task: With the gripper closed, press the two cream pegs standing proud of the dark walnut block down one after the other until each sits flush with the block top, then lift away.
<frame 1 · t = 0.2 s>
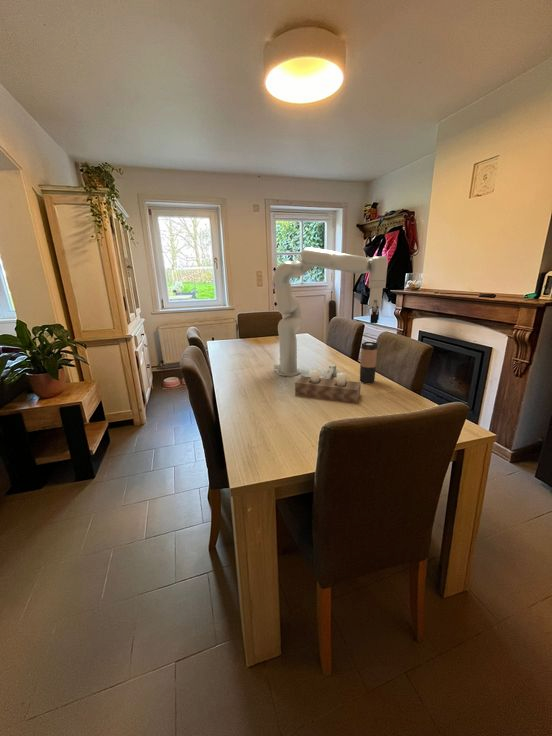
hand: (374, 321, 147), 31 cm above the table, tool pointing down, fingers open, 9 cm apart
walnut block: (327, 394, 141), on the table
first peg: (315, 376, 141), point 8 cm above the table, slide at 0.0 cm
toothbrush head: (328, 381, 160), on the table
travel mug: (366, 381, 157), on the table
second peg: (341, 379, 137), point 8 cm above the table, slide at 0.0 cm
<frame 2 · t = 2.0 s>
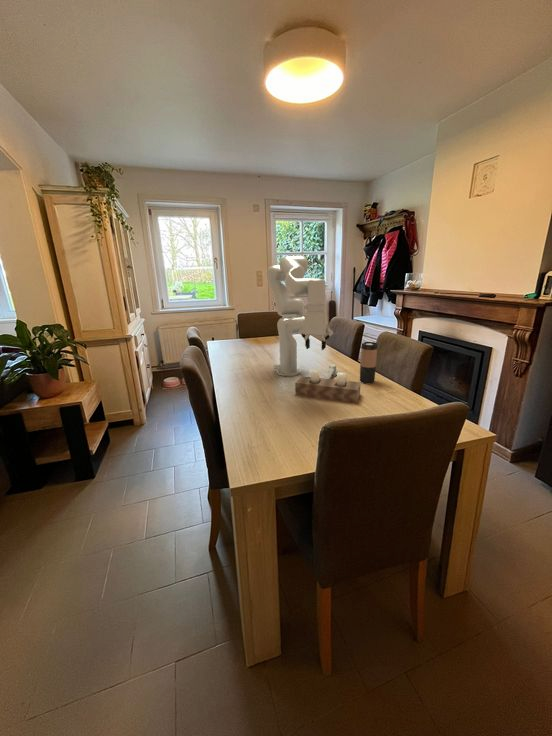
hand: (315, 348, 137), 22 cm above the table, tool pointing down, fingers open, 6 cm apart
nothing on the table moved.
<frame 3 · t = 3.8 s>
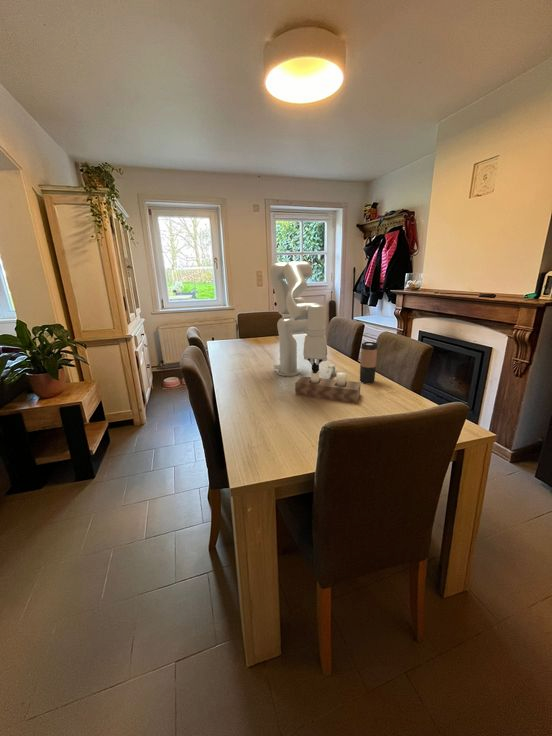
hand: (315, 372, 140), 10 cm above the table, tool pointing down, fingers closed
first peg: (315, 377, 141), point 8 cm above the table, slide at 0.6 cm, touching gripper
everything else where it was.
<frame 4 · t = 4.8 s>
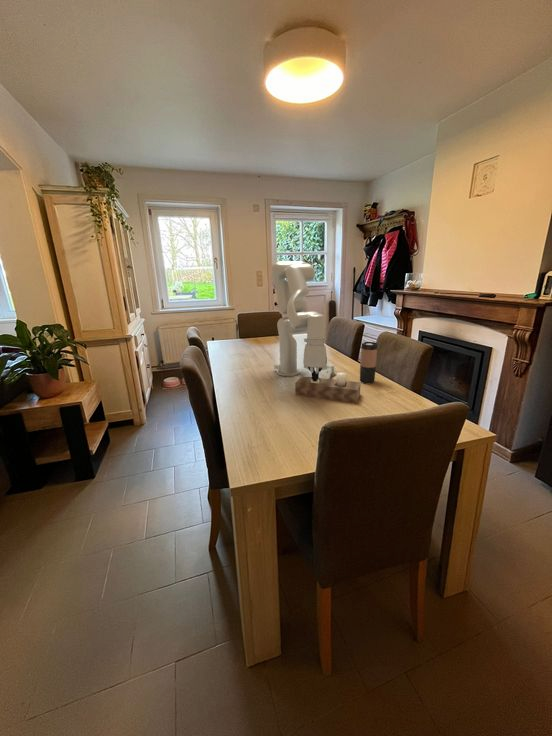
hand: (315, 380, 142), 6 cm above the table, tool pointing down, fingers closed
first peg: (314, 386, 143), point 4 cm above the table, slide at 4.7 cm, touching gripper
everything else where it was.
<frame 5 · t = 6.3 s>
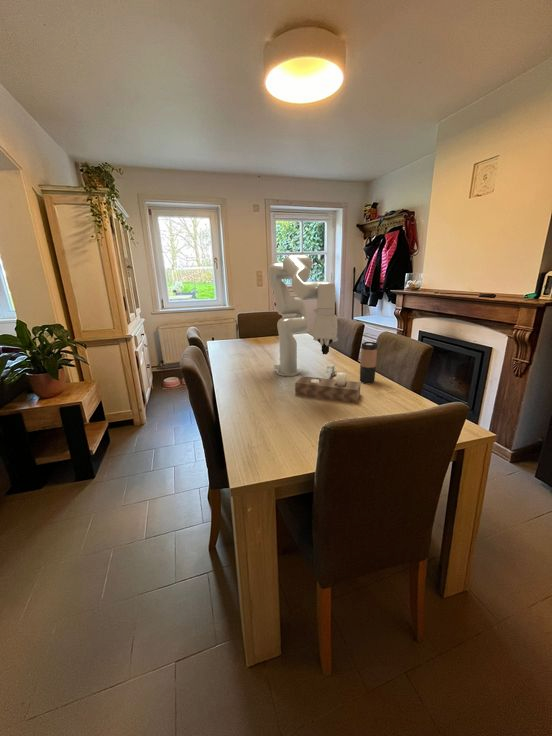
hand: (325, 353, 136), 20 cm above the table, tool pointing down, fingers closed
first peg: (314, 386, 143), point 4 cm above the table, slide at 4.7 cm
everything else where it was.
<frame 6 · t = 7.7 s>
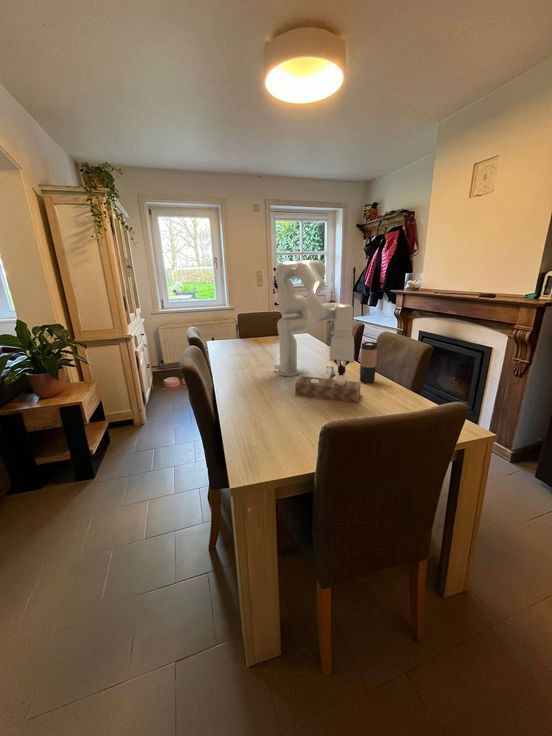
hand: (341, 374, 136), 11 cm above the table, tool pointing down, fingers closed
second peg: (341, 380, 137), point 8 cm above the table, slide at 0.4 cm, touching gripper
everything else where it was.
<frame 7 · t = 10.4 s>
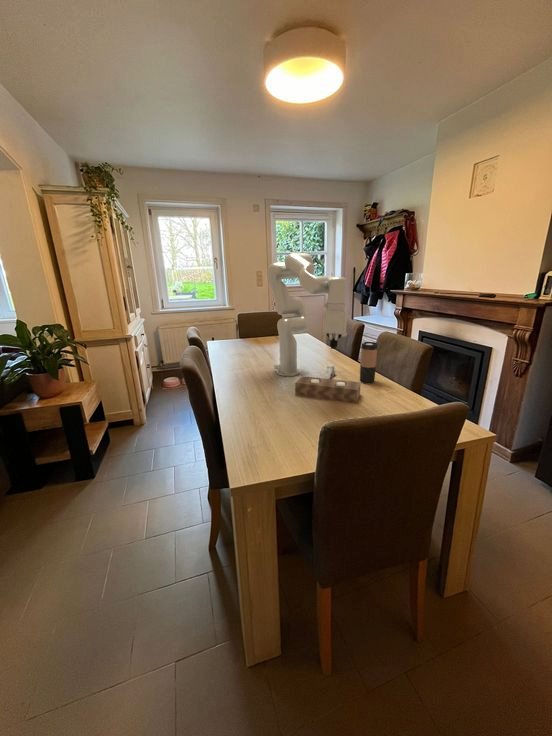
hand: (333, 348, 137), 22 cm above the table, tool pointing down, fingers closed
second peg: (340, 389, 138), point 4 cm above the table, slide at 4.7 cm
everything else where it was.
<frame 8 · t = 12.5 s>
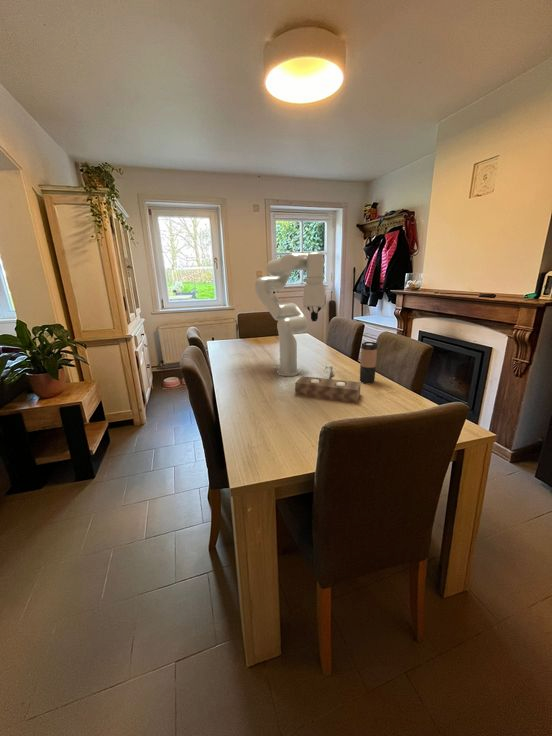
hand: (314, 320, 146), 32 cm above the table, tool pointing down, fingers closed
at the end: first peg slide at 4.7 cm; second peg slide at 4.7 cm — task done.
